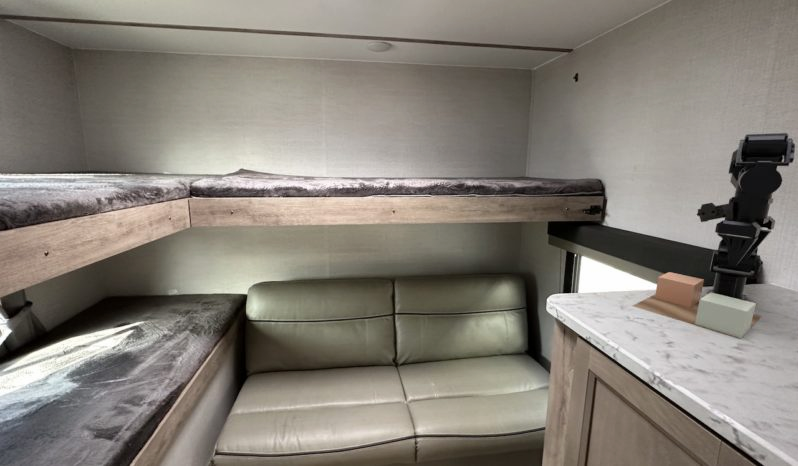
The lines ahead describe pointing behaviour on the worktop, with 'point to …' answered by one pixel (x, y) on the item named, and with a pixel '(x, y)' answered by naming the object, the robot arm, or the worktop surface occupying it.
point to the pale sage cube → (725, 314)
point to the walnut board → (678, 311)
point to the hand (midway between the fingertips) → (738, 262)
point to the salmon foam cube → (679, 289)
